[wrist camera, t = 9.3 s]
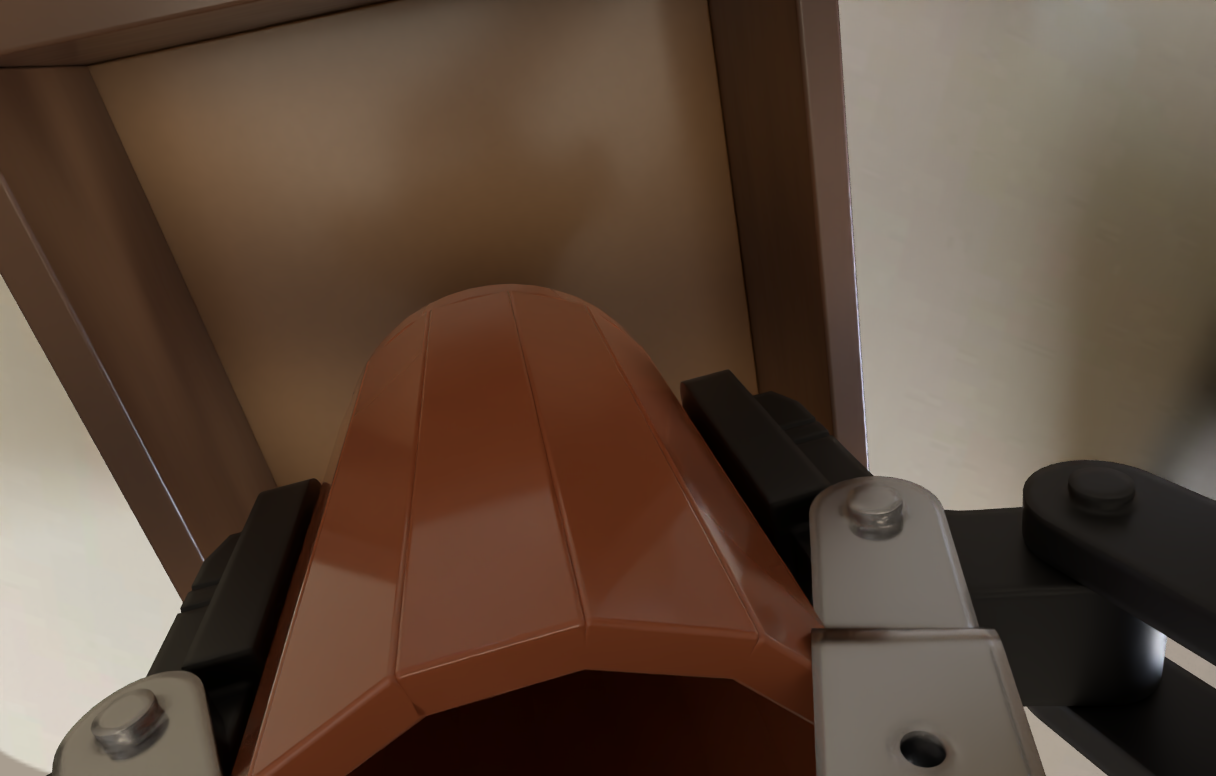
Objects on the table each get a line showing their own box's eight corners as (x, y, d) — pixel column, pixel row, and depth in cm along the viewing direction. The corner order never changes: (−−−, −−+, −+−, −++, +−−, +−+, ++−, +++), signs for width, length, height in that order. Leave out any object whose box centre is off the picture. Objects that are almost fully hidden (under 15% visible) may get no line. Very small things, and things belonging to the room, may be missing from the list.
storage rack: (163, 39, 23) (-143, 20, 11) (647, -64, 24) (828, -179, 12) (346, 487, 30) (274, 770, 18) (717, 388, 31) (878, 592, 19)
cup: (295, 330, 12) (30, 779, 4) (634, 246, 12) (906, 529, 5) (401, 597, 14) (342, 1193, 7) (686, 518, 14) (926, 994, 7)
